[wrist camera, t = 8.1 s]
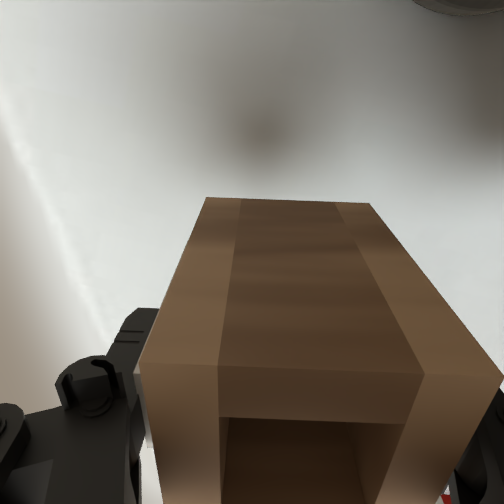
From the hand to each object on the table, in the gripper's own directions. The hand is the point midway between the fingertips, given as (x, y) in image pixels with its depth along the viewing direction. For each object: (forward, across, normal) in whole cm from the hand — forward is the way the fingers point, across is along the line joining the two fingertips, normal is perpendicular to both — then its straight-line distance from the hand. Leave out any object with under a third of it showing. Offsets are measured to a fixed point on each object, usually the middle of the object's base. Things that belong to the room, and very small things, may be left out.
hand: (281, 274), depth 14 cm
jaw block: (0, 0, 0) cm, 0 cm away
